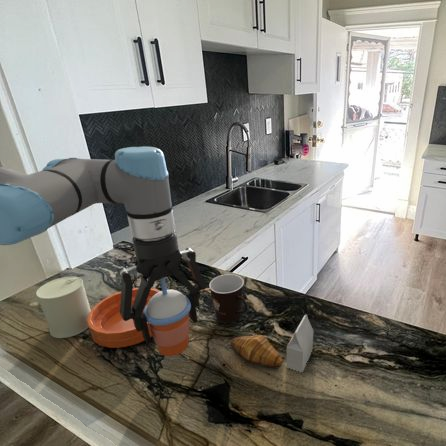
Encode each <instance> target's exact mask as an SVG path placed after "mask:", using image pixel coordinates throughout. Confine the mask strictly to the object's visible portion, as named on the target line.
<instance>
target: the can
mask: <svg viewBox="0 0 446 446" xmlns="http://www.w3.org/2000/svg"><path fill="white" fill-rule="evenodd" d="M35 296H36V297H37V300H38V302H39V305H40V307H41V310H42V312H43V315H44V319H45V320H46V323H47V324H46V325H47V326H48V330H49V334H50V337H52V338H55V339H66V338H67V339H68V338H71V337H75V336H77V335H79V334H81V333H84V332H85V331H86V330H89V327H88V323H87V318H88V314H89V312H90V311H91V310H92V309H91V305H90V303H89V299H88V296H87V292H86V289H85V284H84V280H83V279H82V278H81V277H78V276H64V277H63V276H62V277H60V278H59V277H58V278H55V279H53V280H51V281H48V282H46V283H44V284H43V285H41V286H40V287H39V288H38V289H37V290H36V292H35Z"/></svg>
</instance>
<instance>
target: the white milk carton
mask: <svg viewBox="0 0 446 446" xmlns="http://www.w3.org/2000/svg"><path fill="white" fill-rule="evenodd" d="M314 332H315V331H314V328H313V327H312V324H311V322H310V320H309V318H308V314H304V315H303V317H302V319H301V321H300V323H299V324H298V326H297V328H296V329H295V331H294V333H293V335H292V336H291V339H290V340H289V341H288V343H287V345H286V366H285V367H287V368H286V369H289V368H290V369H289V370H292V369H293V370H292V371H295V370H296V371H295V372H298V371H299V372H298V373H301V372H302V373H301V374H303V373H304V370H305V368H306V367H307V364H308V362H309V360H310V357H311V355H312V353H313V351H312V350H314ZM311 352H312V353H311ZM307 361H308V362H307ZM306 363H307V364H306Z"/></svg>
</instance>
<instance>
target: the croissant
mask: <svg viewBox="0 0 446 446" xmlns="http://www.w3.org/2000/svg"><path fill="white" fill-rule="evenodd" d="M230 346H231V347H232V349H233V350H234V351H235V352H236V354H238V355H239V356H242V357H243V358H244V359H245V360H247V361H248V362H249V363H252V364H256V365H261V366H263V367H266V368H272V369H280V368H281V367H282V365H283V362H284V361H283V360H284V359H283V358H282V357H281V355H280V353H279V352H278V351H277V350H276V348H275V347H274V346H273V345H272V344H271V343H270V341H269V340H268V338H266V337H265V336H264V335H262V334H253V335H243V336H237V337H234V338H232V340H231V341H230Z"/></svg>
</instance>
